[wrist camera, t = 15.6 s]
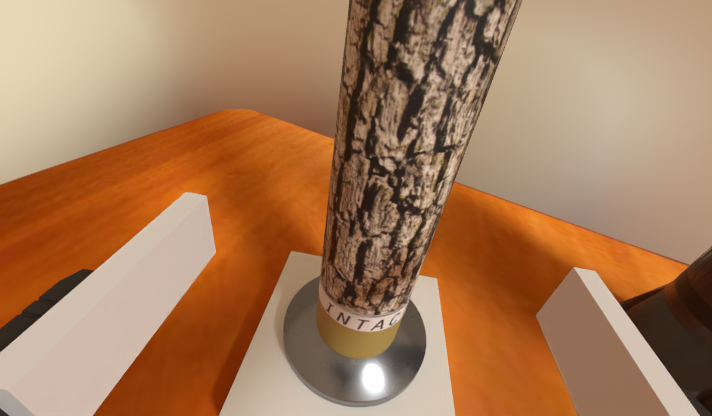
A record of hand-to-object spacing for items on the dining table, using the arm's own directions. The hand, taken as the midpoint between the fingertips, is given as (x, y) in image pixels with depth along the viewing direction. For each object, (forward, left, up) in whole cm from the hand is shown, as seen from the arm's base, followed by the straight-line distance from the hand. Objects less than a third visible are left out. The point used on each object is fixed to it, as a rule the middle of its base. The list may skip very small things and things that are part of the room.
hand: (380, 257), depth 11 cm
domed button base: (0, -7, -17) cm, 19 cm away
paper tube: (0, -7, -15) cm, 17 cm away
